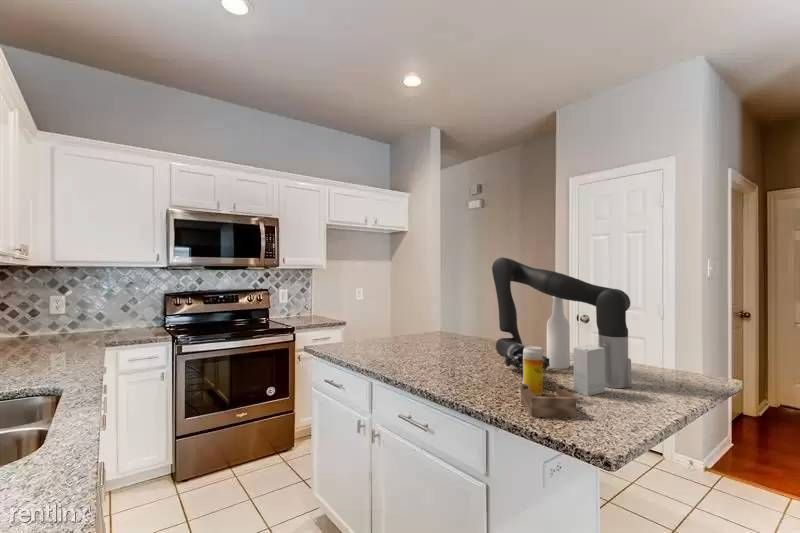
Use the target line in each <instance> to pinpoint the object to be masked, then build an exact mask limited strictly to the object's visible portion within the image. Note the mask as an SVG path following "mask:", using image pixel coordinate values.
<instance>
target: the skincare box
mask: <svg viewBox="0 0 800 533" xmlns="http://www.w3.org/2000/svg"><path fill="white" fill-rule="evenodd" d="M605 387H606V386H605V348H602V347H598V345H593V344H587V345H582V346H581V345H580V346H576V347H573V391H574V392H575V393H578V394H581V395H584V396H586V397H590V396H593V395H594V396H595V395H598V394H604V393H605V390H606V389H605Z"/></svg>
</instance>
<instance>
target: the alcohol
mask: <svg viewBox="0 0 800 533" xmlns="http://www.w3.org/2000/svg"><path fill="white" fill-rule="evenodd" d="M564 310H565V309H564V299H561V298H557V297H554V296H552V310H551V316H550V317H549V318H548V320H547V321H546V357H547V358H549V365H550V366H548V368H549V369H555V370H566V369H569V368H570V363H571V362H570V361H571V356H570V354H571V350H570V348H571V347H570V346H571V345H570V344H571V343H570V342H571V340H570V336H571V334H570V331H571V330H570V328H571V327H570V326H571V325H570V322H569V320H568V319H567V318H566V317H565V311H564Z"/></svg>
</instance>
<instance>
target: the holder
mask: <svg viewBox="0 0 800 533" xmlns="http://www.w3.org/2000/svg"><path fill="white" fill-rule="evenodd" d="M555 395H556V396H539V397H536V396H535V395H534V394H533V393H532V392H531V391H530V390H529V389H528V385H527V384H523V383H521V385H520V403H522V404H521V405H522V406H523V407H524V409H525V408H526V409H525V410H526V411H527V413H528V414H529V415H530V417H540V418H543V417H544V418H545V417H547V418H548V417H549V418H577V397H575V396H574V395H572V394H571V393H570V392H568V390H566V389H565V385H563V384H561V383H560V384H557V383H556V387H555Z"/></svg>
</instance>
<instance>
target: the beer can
mask: <svg viewBox="0 0 800 533" xmlns="http://www.w3.org/2000/svg"><path fill="white" fill-rule="evenodd" d="M543 356H544V352H543V349H542V347H539V346H536V345H535V346H534V345H533V346H532V345H531V346H529V345H527V346H525V347H524V350H523V368H522V384H527V385H528V389H529V390H530V391H531V392H532V393H533V394H534V395H535V396H536V397H542V395H543V393H544V369H543Z"/></svg>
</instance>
